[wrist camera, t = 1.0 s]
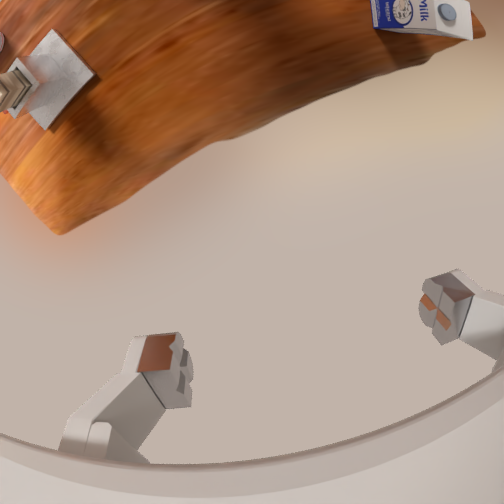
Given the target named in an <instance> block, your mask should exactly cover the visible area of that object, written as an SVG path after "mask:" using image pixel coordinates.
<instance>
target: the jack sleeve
mask: <svg viewBox="0 0 504 504" xmlns="http://www.w3.org/2000/svg"><path fill="white" fill-rule="evenodd" d="M16 70H20V71H21V72H22V73H23V75H24V76H25V77H26V78H27V79H28V80H29V82H30V83H31V84H32V86H31V88H30V89H29V90H28V92H27V93H26V94H25V96H24V97H23V99H22V100H21V102H20V103H19V104H18V105H16V106H13V107H12V108H9V109H6V110H4V111H3V113H4V114H7V113H8V112H9V113H10V114H11V115H12V116H13V118H14V119H16V118H18V117H20V116H22V115H24V114H27V113H30V114H31V115H32V117H33V118H34V119H35V120H36V121H37V122H38V123H39V124H40V125H41V127H42V128H43V129H44V130H47V129H49V127H50V126H51V125H52V123H53V122H54V121H55V120H56V118H57V117H58V116H59V115H60V114H61V112H62V111H63V110H64V109H65V108H66V106H67V105H68V104H69V103H70V102H71V101H72V99H73V98H74V97H75V96H76V95H77V94H78V93H79V92H80V91H81V90H82V88H83V87H84V86H85V85H86V84H87V83H88V82H89V81H90V80H91V79H92V78H93V77H94V76H95V75H96V73H95V72H94V71H93V70H92V69H91V67H90V66H89V65H88V64H87V63H86V62H85V61H84V60H83V59H82V57H81V56H80V55H79V54H78V53H77V52H76V51H75V50H74V49H73V48H72V46H71V45H70V44H69V43H68V42H67V41H66V40H65V39H64V38H63V37H62V35H61V34H60V33H59V32H58V31H57V30H56V29H52V30H51V31H50V32H49V33H48V34H47V35H46V36H45V38H44V39H43V40H42V41H41V42H40V43H39V45H38V46H37V47H36V48H35V49H34V51H33V52H32V53H31V55H30V56H23V57H17V58H16V60H15V61H14V62H13V64H12V65H11V67H10V68H9V70H8V71H7V72H11V71H16Z"/></svg>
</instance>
